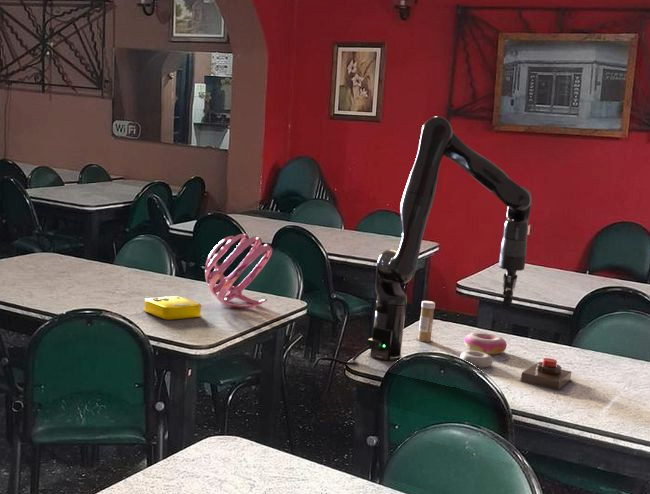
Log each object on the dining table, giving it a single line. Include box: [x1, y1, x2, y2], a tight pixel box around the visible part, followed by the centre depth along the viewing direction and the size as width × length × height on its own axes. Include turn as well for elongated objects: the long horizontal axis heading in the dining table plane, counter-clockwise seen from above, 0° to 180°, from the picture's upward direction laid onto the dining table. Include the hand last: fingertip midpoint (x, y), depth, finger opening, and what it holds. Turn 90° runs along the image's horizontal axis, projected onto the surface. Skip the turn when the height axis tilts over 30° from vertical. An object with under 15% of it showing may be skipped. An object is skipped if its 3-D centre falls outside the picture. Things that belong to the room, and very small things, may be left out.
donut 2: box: [459, 350, 493, 369], centre depth 266 cm, size 10×4×10 cm
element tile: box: [144, 295, 202, 321], centre depth 296 cm, size 15×15×5 cm
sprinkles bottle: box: [417, 300, 436, 343], centre depth 290 cm, size 5×5×13 cm
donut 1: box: [464, 332, 507, 356], centre depth 284 cm, size 14×13×5 cm
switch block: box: [520, 361, 572, 391], centre depth 254 cm, size 14×11×4 cm
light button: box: [542, 357, 558, 368], centre depth 255 cm, size 4×4×2 cm
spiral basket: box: [204, 233, 274, 309], centre depth 318 cm, size 28×28×27 cm
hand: (507, 305), depth 260 cm, fingers open, 8 cm apart
